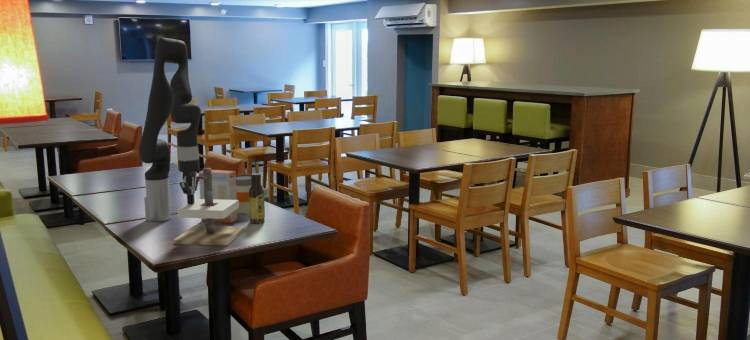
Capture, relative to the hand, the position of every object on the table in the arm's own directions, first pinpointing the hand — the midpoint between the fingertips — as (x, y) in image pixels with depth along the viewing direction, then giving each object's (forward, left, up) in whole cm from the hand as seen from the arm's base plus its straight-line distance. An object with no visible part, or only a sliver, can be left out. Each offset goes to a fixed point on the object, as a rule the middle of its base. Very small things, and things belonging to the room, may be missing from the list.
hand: (190, 203), depth 234 cm
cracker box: (+2, +23, -13) cm, 26 cm away
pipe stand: (+7, 0, -12) cm, 14 cm away
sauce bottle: (+18, +23, -13) cm, 32 cm away
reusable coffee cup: (+7, +41, -13) cm, 43 cm away
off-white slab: (+7, 0, -3) cm, 8 cm away
